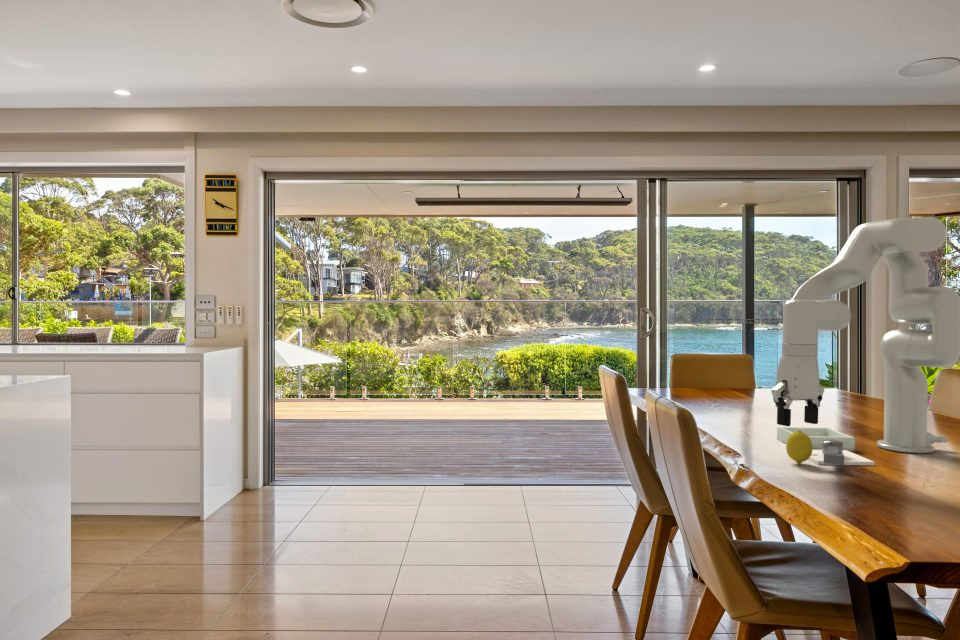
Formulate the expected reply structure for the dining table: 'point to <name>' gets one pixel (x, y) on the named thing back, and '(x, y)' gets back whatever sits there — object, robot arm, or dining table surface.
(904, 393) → the robot arm
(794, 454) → the lemon
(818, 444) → the tray
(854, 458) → the crank board
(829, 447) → the crank
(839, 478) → the dining table surface
